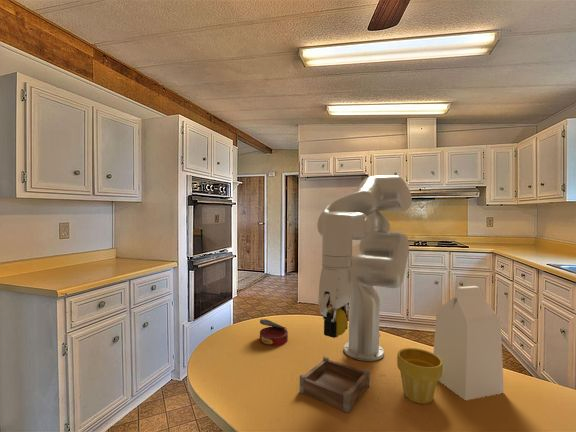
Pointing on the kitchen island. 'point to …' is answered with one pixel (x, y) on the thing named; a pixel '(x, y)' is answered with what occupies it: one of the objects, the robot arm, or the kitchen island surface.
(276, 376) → the kitchen island surface
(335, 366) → the wooden square tray
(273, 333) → the canned food
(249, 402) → the kitchen island surface
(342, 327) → the lemon
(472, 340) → the milk
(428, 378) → the plant pot
